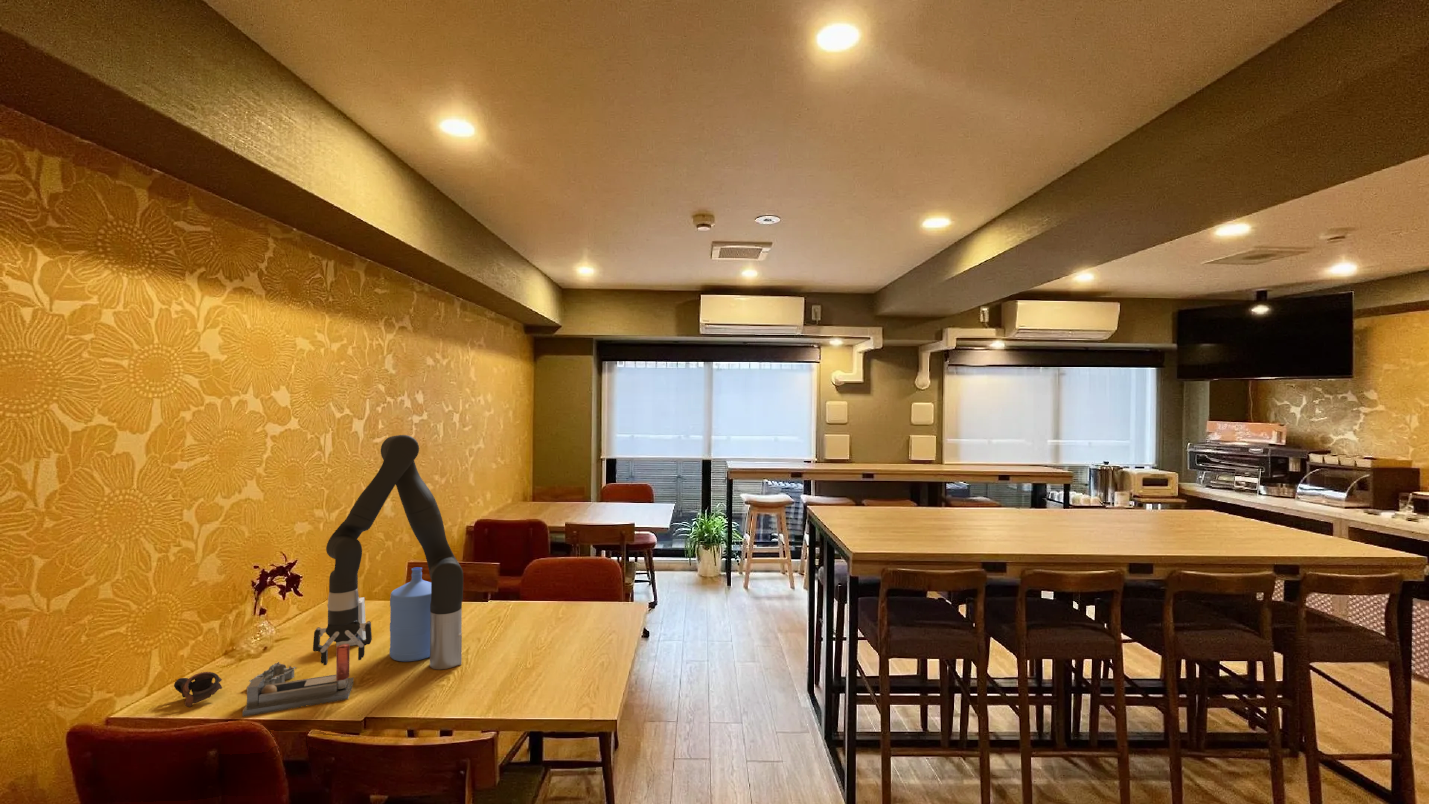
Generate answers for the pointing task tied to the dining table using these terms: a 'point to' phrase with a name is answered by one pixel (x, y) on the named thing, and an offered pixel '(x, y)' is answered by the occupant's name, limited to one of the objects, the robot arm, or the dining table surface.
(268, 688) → the walnut
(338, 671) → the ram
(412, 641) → the water jug
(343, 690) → the grey ball track
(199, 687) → the dark brown hollow piece
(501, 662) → the dining table surface
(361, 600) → the skincare box
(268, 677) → the grey jagged model
